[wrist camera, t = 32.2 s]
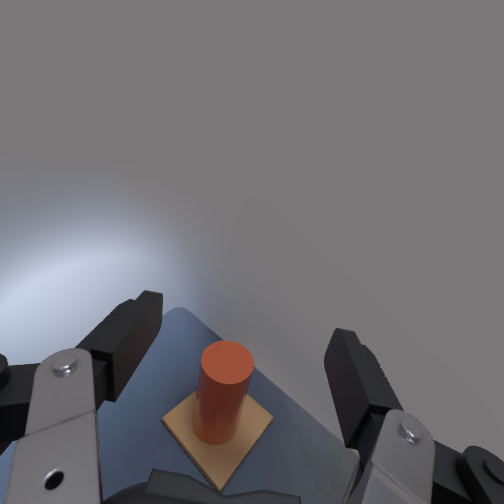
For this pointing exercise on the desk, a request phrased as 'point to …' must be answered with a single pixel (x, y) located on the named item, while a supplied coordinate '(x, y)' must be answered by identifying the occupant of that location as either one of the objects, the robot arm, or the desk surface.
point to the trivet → (222, 455)
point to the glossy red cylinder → (221, 391)
